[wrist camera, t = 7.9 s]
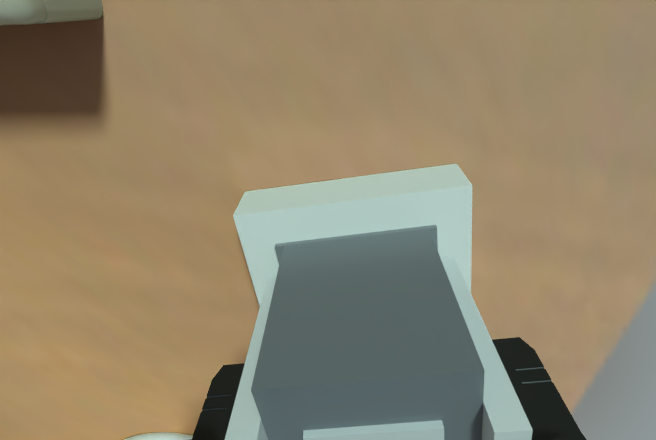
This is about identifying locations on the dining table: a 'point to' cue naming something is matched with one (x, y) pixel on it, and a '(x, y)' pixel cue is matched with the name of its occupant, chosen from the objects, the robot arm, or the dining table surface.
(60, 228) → the dining table surface
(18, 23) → the electrical outlet
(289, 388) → the block
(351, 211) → the plate
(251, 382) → the robot arm
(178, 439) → the coaster
